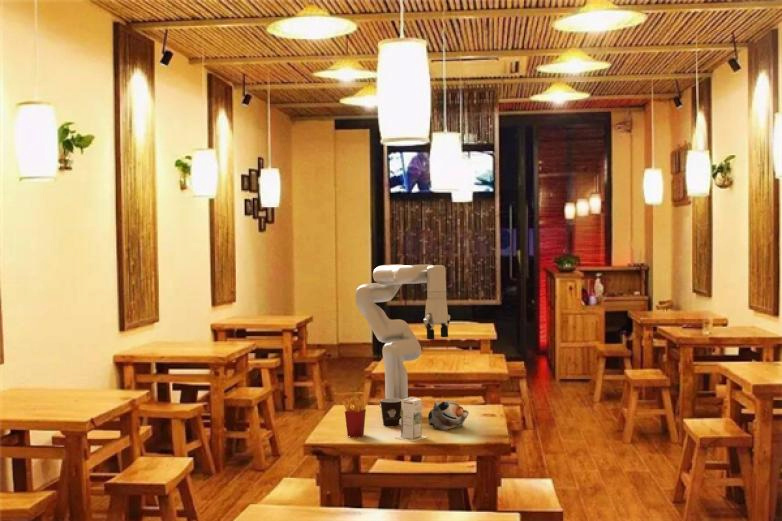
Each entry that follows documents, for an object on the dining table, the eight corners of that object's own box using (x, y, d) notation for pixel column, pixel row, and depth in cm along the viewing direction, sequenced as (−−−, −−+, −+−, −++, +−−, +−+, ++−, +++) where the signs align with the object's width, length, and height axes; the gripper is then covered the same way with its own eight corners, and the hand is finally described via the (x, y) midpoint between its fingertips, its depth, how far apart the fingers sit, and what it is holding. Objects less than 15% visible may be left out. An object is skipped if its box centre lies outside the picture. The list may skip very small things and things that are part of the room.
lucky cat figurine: (465, 423, 361) (473, 396, 355) (460, 441, 351) (468, 414, 344) (429, 412, 363) (437, 385, 357) (423, 430, 353) (431, 402, 346)
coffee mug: (377, 426, 359) (377, 401, 358) (385, 422, 367) (384, 397, 366) (404, 428, 355) (404, 403, 354) (411, 423, 363) (411, 399, 362)
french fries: (361, 438, 338) (360, 398, 338) (340, 437, 341) (340, 397, 340) (368, 433, 347) (367, 394, 346) (348, 432, 349) (347, 393, 349)
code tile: (394, 438, 338) (394, 437, 338) (409, 433, 345) (409, 433, 345) (413, 441, 332) (413, 441, 332) (428, 437, 339) (428, 436, 339)
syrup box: (409, 434, 343) (409, 396, 342) (422, 436, 339) (422, 398, 339) (400, 437, 338) (400, 399, 337) (413, 439, 334) (413, 400, 334)
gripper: (441, 294, 370) (442, 335, 370) (416, 296, 356) (417, 339, 356) (456, 294, 365) (457, 336, 366) (432, 297, 352) (432, 340, 352)
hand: (437, 338), depth 361 cm, fingers open, 9 cm apart
